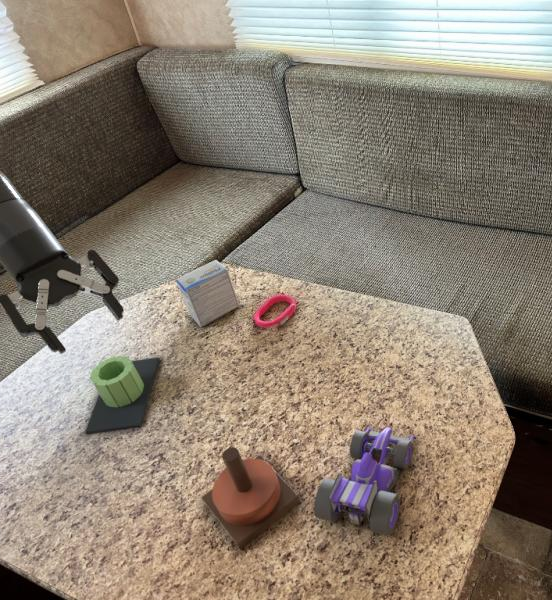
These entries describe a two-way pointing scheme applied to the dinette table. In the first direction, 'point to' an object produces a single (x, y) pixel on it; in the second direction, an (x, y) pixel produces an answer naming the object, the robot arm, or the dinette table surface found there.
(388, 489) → the toy race car
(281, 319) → the fitness band
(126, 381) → the green ring
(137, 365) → the mat
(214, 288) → the medicine box
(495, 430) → the dinette table surface
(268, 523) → the stand
